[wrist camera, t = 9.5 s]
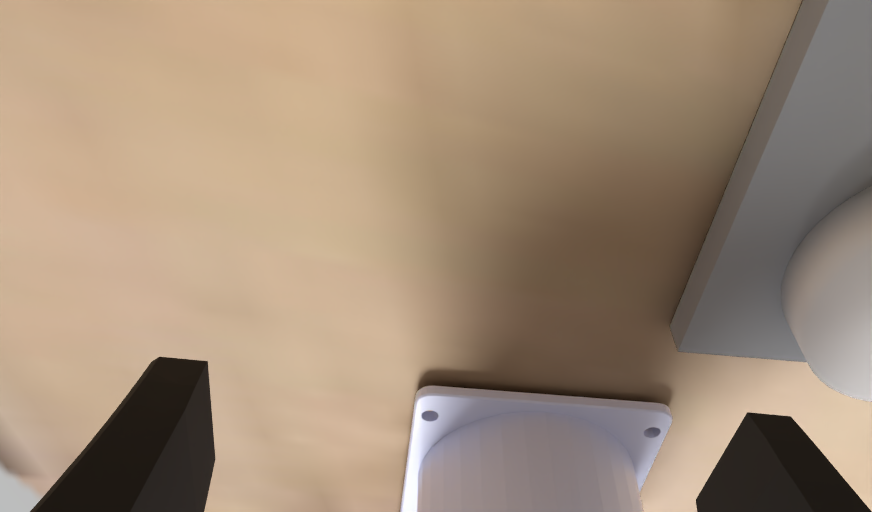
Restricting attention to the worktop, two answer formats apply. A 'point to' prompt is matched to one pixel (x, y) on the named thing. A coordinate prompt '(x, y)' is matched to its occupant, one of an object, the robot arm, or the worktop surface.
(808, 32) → the gear board
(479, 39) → the worktop surface
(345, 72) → the worktop surface
